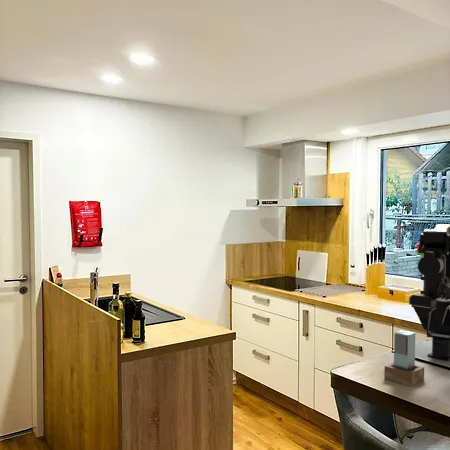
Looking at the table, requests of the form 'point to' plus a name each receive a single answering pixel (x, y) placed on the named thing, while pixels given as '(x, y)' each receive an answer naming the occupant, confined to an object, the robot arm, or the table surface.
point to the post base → (404, 375)
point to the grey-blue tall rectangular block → (404, 350)
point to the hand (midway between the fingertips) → (433, 327)
